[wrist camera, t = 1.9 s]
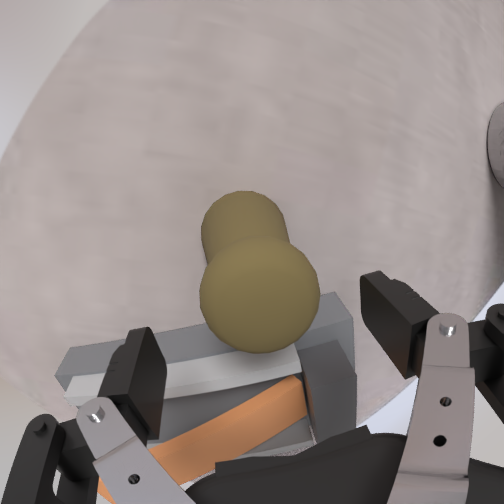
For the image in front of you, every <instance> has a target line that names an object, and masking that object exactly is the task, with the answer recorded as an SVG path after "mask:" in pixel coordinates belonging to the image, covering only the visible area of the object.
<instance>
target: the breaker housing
mask: <svg viewBox="0 0 504 504" xmlns="http://www.w3.org/2000/svg"><path fill="white" fill-rule="evenodd" d="M154 336H155V339H156V341H157V343H158V345H159V347H160V350H161V352H162V354H163V356H164V358H165V361H166V365H167V379H166V386H165V394H164V401H163V409H162V417H161V426H160V434H159V440H147V447H146V448H147V449H150V448H153V447H155V446H157V445H160V444H162V443H164V442H166V441H169V440H171V439H173V438H175V437H177V436H179V435H182V434H184V433H186V432H188V431H190V430H192V429H194V428H196V427H198V426H200V425H202V424H204V423H206V422H208V421H210V420H212V419H214V418H216V417H218V416H220V415H222V414H224V413H226V412H227V411H229V410H231V409H233V408H235V407H237V406H239V405H240V404H242V403H244V402H246V401H248V400H249V399H251V398H253V397H255V396H256V395H258V394H260V393H262V392H263V391H265V390H267V389H268V388H270V387H272V386H273V385H275V384H277V383H278V382H280V381H282V380H283V379H285V378H287V377H288V376H290V375H291V374H292V375H294V376H295V377H296V378H297V379H299V380H300V381H301V382H302V386H303V392H304V398H305V403H306V409H307V415H306V416H304V417H303V418H301V419H300V420H298V421H297V422H295V423H293V424H292V425H290V426H289V427H287V428H286V429H284V430H283V431H281V432H279V433H278V434H276V435H275V436H273V437H271V438H270V439H268V440H266V441H265V442H263V443H261V444H260V445H258V446H256V447H254V448H253V449H251V450H249V451H247V452H246V453H244V454H242V455H240V456H238V457H236V458H235V459H240V458H246V457H251V456H271V455H276V454H281V453H285V452H290V451H294V450H298V449H302V448H306V447H310V446H313V445H314V443H313V438H312V435H311V432H310V428H309V425H311V426H312V429H313V433H314V436H315V439H316V442H317V444H318V443H320V442H322V441H324V440H326V439H328V438H329V437H332V436H335V435H338V434H341V433H344V432H347V431H350V430H353V429H356V407H357V375H356V373H355V353H354V327H353V317H352V316H351V314H350V313H349V311H348V310H347V308H346V307H345V305H344V304H343V303H342V301H341V300H340V298H339V297H338V295H337V294H336V293H335V292H332V293H329V294H325V295H321V296H320V302H319V309H318V312H317V314H316V316H315V318H314V320H313V322H312V324H311V326H310V328H309V329H308V330H307V331H306V332H305V333H304V335H303V336H302V337H301V338H300V339H299V340H298V341H296V342H294V343H293V344H291V345H289V346H288V347H286V348H284V349H281V350H278V351H275V352H271V353H261V354H252V353H247V352H243V351H238V350H236V349H235V348H233V347H231V346H229V345H227V344H225V343H224V342H222V341H220V340H219V339H218V338H217V337H216V336H215V334H214V333H213V332H212V331H211V330H210V329H209V327H208V325H207V323H206V324H201V325H196V326H191V327H186V328H182V329H177V330H172V331H167V332H161V333H156V334H154ZM125 341H126V339H123V340H117V341H111V342H105V343H99V344H93V345H86V346H80V347H73V348H70V349H69V350H68V352H67V354H66V356H65V357H64V359H63V361H62V363H61V365H60V366H59V368H58V370H57V372H56V374H55V375H54V376H55V377H56V379H57V380H58V381H59V383H60V384H61V386H62V387H63V389H64V390H65V392H66V393H65V395H64V398H65V400H66V401H67V403H68V404H69V405H70V406H76V407H77V408H78V409H80V407H81V406H82V405H83V404H84V403H86V402H87V401H89V400H91V399H93V398H97V395H98V392H99V389H100V387H101V384H102V381H103V378H104V375H105V373H107V372H106V370H107V367H108V365H109V362H110V359H111V357H112V354H113V353H114V352H115V351H116V349H117V348H118V347H119V346H120V345H123V344H125ZM233 460H234V459H233Z"/></svg>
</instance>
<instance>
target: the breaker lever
mask: <svg viewBox="0 0 504 504" xmlns="http://www.w3.org/2000/svg"><path fill="white" fill-rule="evenodd" d="M306 415H307V409H306V403H305V398H304V392H303V386H302V382H301V381H300V380H299V379H297V378H296V377H295V376H294V375H292V374H291V375H290V376H288V377H287V378H285V379H283V380H282V381H280V382H278V383H277V384H275V385H273V386H272V387H270V388H268V389H267V390H265V391H263V392H262V393H260V394H258V395H256V396H255V397H253V398H251V399H249V400H248V401H246V402H244V403H242V404H240V405H239V406H237V407H235V408H233V409H231V410H229V411H227V412H226V413H224V414H222V415H220V416H218V417H216V418H214V419H212V420H210V421H208V422H206V423H204V424H202V425H200V426H198V427H196V428H194V429H192V430H190V431H188V432H186V433H184V434H182V435H179V436H177V437H175V438H173V439H171V440H169V441H166V442H164V443H162V444H160V445H157V446H155V447H153V448H150V449H148V450H149V451H150V453H151V454H152V455H153V456H154V458H155V459H156V460H157V461H158V462H159V463H160V465H161V466H162V467H163V468H164V469H165V470H166V471H167V473H168V474H169V475H170V476H171V477H172V478H173V479H174V480H175V482H176V483H177V484H178V485H181V484H184V483H186V482H188V481H190V480H192V479H195V478H197V477H199V476H201V475H203V474H205V473H207V472H209V471H211V470H213V469H215V462H221V461H228V460H233V459H235V458H236V457H238V456H240V455H242V454H244V453H246V452H247V451H249V450H251V449H253V448H254V447H256V446H258V445H260V444H261V443H263V442H265V441H266V440H268V439H270V438H271V437H273V436H275V435H276V434H278V433H279V432H281V431H283V430H284V429H286V428H287V427H289V426H290V425H292V424H293V423H295V422H297V421H298V420H300V419H301V418H303V417H304V416H306ZM97 492H98V493H99V494H100V495H102V496H103V497H104V498H105V499H107V500H108V501H109V502H111V503H112V504H116V503H115V501H114V500H113V498H112V496H111V495H110V493H109V492H108V490H107V488H106V487H105V485H104V483H103V481H102V480H101V478H100V476H99V482H98V490H97Z"/></svg>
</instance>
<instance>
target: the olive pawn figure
mask: <svg viewBox="0 0 504 504" xmlns="http://www.w3.org/2000/svg"><path fill="white" fill-rule="evenodd" d="M201 240H202V244H203V248H204V252H205V255H206V259H207V263H208V266H207V267H206V269H205V272H204V275H203V278H202V281H201V285H200V291H199V292H200V308H201V311H202V313H203V316H204V318H205V320H206V323H207V325H208V327H209V329H210V330H211V331H212V332H213V333H214V334H215V336H216V337H217V338H218V339H219V340H220V341H222V342H224V343H225V344H227V345H229V346H231V347H233V348H235V349H236V350H238V351H243V352H247V353H252V354H261V353H271V352H275V351H278V350H281V349H284V348H286V347H288V346H289V345H291V344H293V343H294V342H296V341H298V340H299V339H300V338H301V337H302V336H303V335H304V333H305V332H306V331H307V330H308V329H309V328H310V326H311V324H312V322H313V320H314V318H315V316H316V314H317V312H318V309H319V302H320V288H319V283H318V278H317V274H316V271H315V270H314V268H313V267H312V265H311V264H310V262H309V261H308V259H307V258H306V256H305V255H304V254H303V253H302V252H301V251H299V250H298V249H297V248H295V247H294V246H293V245H291V244H290V241H289V237H288V233H287V229H286V225H285V221H284V217H283V214H282V213H281V211H280V210H279V208H278V207H277V205H276V204H275V203H274V202H273V201H271V200H270V199H269V198H267V197H266V196H264V195H262V194H259V193H256V192H253V191H237V192H233V193H230V194H227V195H224V196H223V197H221V198H220V199H219V200H217V201H216V202H214V203H213V204H212V206H211V207H210V208H209V210H208V211H207V213H206V214H205V217H204V220H203V223H202V226H201Z"/></svg>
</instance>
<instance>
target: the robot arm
mask: <svg viewBox="0 0 504 504" xmlns="http://www.w3.org/2000/svg"><path fill="white" fill-rule="evenodd" d="M488 153H489V160H490V164H491V168H492V171H493V173H494V176H495V178H496V179H497V181H498V183H499V184H500V185H501V186H502V187H503V188H504V103H501V104H500V105H499V106H498V107H497V108H496V109H495V111H494V112H493V115H492V117H491V120H490V124H489V129H488ZM360 296H361V314H362V318H363V321H364V323H365V325H366V327H367V328H368V329H369V331H370V332H371V333H372V335H373V336H374V337H375V339H376V340H377V341H378V343H379V344H380V345H381V347H382V348H383V350H384V351H385V352H386V354H387V355H388V356H389V358H390V359H391V361H392V362H393V363H394V365H395V366H396V367H397V369H398V370H399V372H400V373H401V374H402V376H403V377H404V379H408V378H410V377H412V376H415V375H416V376H417V377H418V378H419V380H418V385H417V390H416V396H415V400H414V405H413V410H412V414H411V418H410V423H409V427H408V430H407V434H406V436H405V435H401V434H394V433H375V434H371V433H370V431H369V429H368V427H367V425H364V426H362V427H359V428H356V429H353V430H350V431H347V432H344V433H341V434H338V435H335V436H332V437H329V438H328V439H326V440H324V441H322V442H320V443H318V444H316V445H314V446H313V447H311V448H309V449H307V450H305V451H303V452H301V453H299V454H296V455H293V456H251V457H246V458H240V459H234V460H228V461H221V462H215V473H213V474H211V475H209V476H206V477H204V478H202V479H201V480H199V481H197V482H196V483H194V484H193V485H192V486H190V487H189V488H188V489H187V490H186V491H184V490H183V489H182V488H181V487H180V486H179V485H178V484H177V483H176V482H175V480H174V479H173V478H172V477H171V476H170V475H169V474H168V473H167V471H166V470H165V469H164V468H163V467H162V466H161V465H160V463H159V462H158V461H157V460H156V459H155V458H154V456H153V455H152V454H151V453H150V451H149V450H148V449H147V448H146V447H147V440H159V434H160V426H161V417H162V409H163V401H164V394H165V386H166V379H167V365H166V361H165V358H164V356H163V354H162V352H161V350H160V347H159V345H158V343H157V341H156V339H155V336H154V334H153V332H152V330H151V329H150V328H149V327H144V328H138V329H133V330H130V331H129V333H128V335H127V338H126V341H125V344H123V345H120V346H119V347H118V348H117V349H116V351H115V352H114V353H113V354H112V357H111V359H110V362H109V365H108V367H107V370H106V372H107V373H105V375H104V378H103V381H102V384H101V387H100V389H99V392H98V395H97V398H93V399H91V400H89V401H87V402H86V403H84V404H83V405H82V406H81V407H80V409H79V410H78V412H77V416H76V418H75V419H72V420H69V421H66V422H62V423H58V421H57V420H56V419H55V418H54V417H53V416H52V415H50V414H42V415H39V416H37V417H35V418H34V419H32V421H30V423H29V424H28V426H27V427H26V430H25V432H24V435H23V438H22V440H21V443H20V445H19V448H18V451H17V454H16V456H15V459H14V462H13V466H12V468H11V471H10V474H9V478H8V481H7V484H6V487H5V491H4V494H3V498H2V502H1V504H96V497H97V490H98V482H99V476H100V478H101V480H102V481H103V483H104V485H105V487H106V488H107V490H108V492H109V493H110V495H111V496H112V498H113V500H114V501H115V503H116V504H504V468H503V467H500V466H496V465H492V464H489V463H485V462H482V461H479V460H475V459H472V458H469V457H470V450H471V440H472V431H473V430H472V429H473V418H474V397H475V386H476V387H477V388H478V390H479V391H480V392H481V394H482V395H483V396H484V398H485V399H486V400H487V402H488V403H489V404H490V406H491V407H492V409H493V410H494V411H495V413H496V414H497V415H498V417H499V418H500V419H501V421H502V422H503V424H504V304H495V305H493V306H491V307H490V308H489V309H488V310H487V314H486V318H485V320H481V321H475V322H470V323H467V322H466V320H465V319H464V318H462V317H461V316H459V315H456V314H452V313H441V314H440V313H439V312H438V311H437V310H436V309H434V308H433V307H432V306H431V305H430V304H429V303H428V302H427V301H425V300H424V299H423V298H422V297H420V295H419V294H417V293H416V292H415V291H413V289H412V288H411V287H409V286H408V285H407V284H406V283H404V282H401V281H398V280H396V279H393V280H390V279H389V278H388V277H387V276H386V275H385V274H383V273H382V272H381V271H375V272H372V273H368V274H365V275H362V276H361V277H360ZM56 469H57V470H58V471H59V472H60V473H61V477H60V481H59V485H58V490H57V495H56V496H55V494H54V492H53V480H54V476H55V472H56Z"/></svg>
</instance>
